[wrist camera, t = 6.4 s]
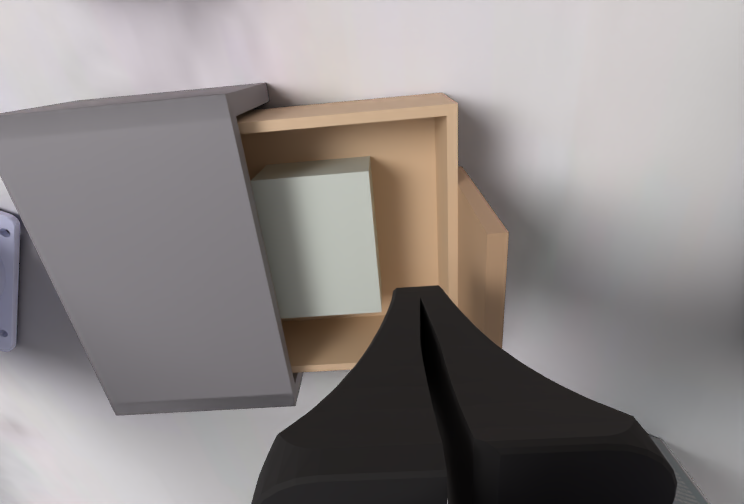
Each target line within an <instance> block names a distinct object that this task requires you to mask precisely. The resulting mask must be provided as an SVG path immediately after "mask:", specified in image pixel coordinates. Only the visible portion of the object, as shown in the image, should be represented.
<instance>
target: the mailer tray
mask: <svg viewBox="0 0 744 504" xmlns="http://www.w3.org/2000/svg"><path fill="white" fill-rule="evenodd" d="M236 118H237V123H238V127H239V132H240V136H241V141H242V146H243V150H244V155H245V159H246V164H247V168H248V173H249V177H250V182H251V186H252V191H253V196H254V200H255V205H256V209H257V214H258V218H259V223H260V227H261V232H262V237H263V241H264V246H265V250H266V255H267V259H268V264H269V268H270V273H271V277H272V282H273V287H274V291H275V296H276V300H277V305H278V309H279V314H280V318H281V323H282V328H283V332H284V337H285V341H286V346H287V350H288V355H289V359H290V364H291V369H292V373H297V372H315V371H332V370H350V369H353V367H354V366H355V365H356V364H357V362H358V361H359V360H360V358H361V357H362V355H363V354H364V353H365V351H366V350H367V348H368V347H369V345H370V343H371V342H372V340H373V338H374V336H375V335H376V333H377V331H378V330H379V328H380V326H381V324H382V321H383V319H384V317H385V315H386V313H387V310H388V308H389V305H390V302H391V299H392V294H393V291H394V290H395V289H396V288H402V287H418V286H434V285H439V286H440V287H441V288H442V289H443V290H444V292H445V293H446V294H447V295H448V297H449V298H450V299H451V300H452V301H453V303H454V304H455V305H456V306H457V307H458V308H459V310H460V311H461V312H462V313H463V314H464V315H465V316H466V317H467V318H468V319H469V320H470V321H471V322H472V323H473V324H474V325H475V326H476V327H477V328H478V329H479V330H480V331H481V332H482V333H483V334H485V335H486V336H487V337H488V338H489V339H490V340H491V341H493V342H494V343H495V344H496V345H497V346H499V347H500V348H501V349H502V340H503V322H504V305H505V288H506V270H507V253H508V236H509V232H508V231H507V229H506V228H505V226H504V225H503V224H502V222H501V221H500V219H499V218H498V217H497V215H496V214H495V212H494V211H493V210H492V208H491V207H490V205H489V204H488V203H487V201H486V200H485V198H484V197H483V196H482V194H481V193H480V191H479V190H478V188H477V187H476V186H475V184H474V183H473V181H472V180H471V179H470V177H469V176H468V174H467V173H466V172H465V170H464V169H463V167H458V103H457V102H455V101H454V100H452V99H451V98H449V97H448V96H446V95H445V94H443V93H432V94H421V95H410V96H400V97H389V98H378V99H367V100H356V101H345V102H334V103H323V104H312V105H302V106H291V107H280V108H269V109H258V110H249V111H247V112H244V113H242V114H240V115H238V116H236Z"/></svg>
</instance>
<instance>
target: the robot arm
mask: <svg viewBox="0 0 744 504" xmlns="http://www.w3.org/2000/svg"><path fill="white" fill-rule="evenodd" d="M6 229H7V230H8V231H9V232H10V234H9V233H8V232H7V231H6ZM19 252H20V222H19V220H18V219H17V218H16V217H15V216H14V215H12V214H9V213H6V212H3V211H0V351H4V352H9V351H11V350H12V349H13V348H15V347H16V336H17V308H18V280H19ZM676 489H677V480H676V476H675V473H674V470H673V468H672V467H671V465H670V464H669V462H668V461H667V460H666V458H665V457H664V455H663V454H662V453H661V451H660V450H659V448H658V447H657V445H656V444H655V443H654V441H653V440H652V439H651V437H650V436H649V435H648V434H647V433H646V431H645V430H644V429H643V428H642V427H641V425H640V424H639V423H638V422H637V421H636V419H635V418H634V417H633V416H631V415H628V414H626V413H623V412H621V411H618V410H616V409H613V408H611V407H608V406H606V405H603V404H601V403H598V402H596V401H593V400H591V399H588V398H586V397H584V396H582V395H580V394H578V393H575V392H573V391H571V390H569V389H567V388H565V387H563V386H561V385H559V384H557V383H555V382H553V381H552V380H550V379H548V378H546V377H544V376H543V375H541V374H539V373H538V372H536V371H534V370H533V369H531V368H529V367H527V366H526V365H524V364H523V363H521V362H520V361H518V360H517V359H515V358H514V357H512V356H511V355H510V354H508V353H507V352H506V351H504V350H503V349H501V348H500V347H499V346H497V345H496V344H495V343H494V342H493V341H491V340H490V339H489V338H488V337H487V336H486V335H485V334H483V333H482V332H481V331H480V330H479V329H478V328H477V327H476V326H475V325H474V324H473V323H472V322H471V321H470V320H469V319H468V318H467V317H466V316H465V315H464V314H463V313H462V312H461V311H460V310H459V308H458V307H457V306H456V305H455V304H454V303H453V301H452V300H451V299H450V298H449V297H448V295H447V294H446V293H445V292H444V290H443V289H442V288H441V287H440V286H439V285H434V286H418V287H402V288H396V289H395V290H394V291H393V294H392V299H391V302H390V305H389V308H388V310H387V313H386V315H385V317H384V319H383V321H382V324H381V326H380V328H379V330H378V331H377V333H376V335H375V336H374V338H373V340H372V342H371V343H370V345H369V347H368V348H367V350H366V351H365V353H364V354H363V355H362V357H361V358H360V360H359V361H358V362H357V364H356V365H355V366H354V367H353V369H352V370H351V371H350V372H349V373H348V375H347V376H346V377H345V378H344V379H343V380H342V381H341V383H340V384H339V385H338V386H337V387H336V388H335V389H334V390H333V391H332V392H331V393H330V394H329V395H327V396H326V397H325V398H324V399H323V400H322V401H321V402H320V403H319V404H318V405H317V406H316V407H314V408H313V409H312V410H311V411H310V412H308V413H307V414H306V415H304V416H303V417H301V418H300V419H299V420H297V421H296V422H295V423H293V424H292V425H290V426H289V427H288V428H286V429H285V430H283V431H282V432H280V433H279V434H278V435H277V437H276V439H275V441H274V443H273V445H272V447H271V449H270V451H269V453H268V456H267V458H266V460H265V463H264V465H263V467H262V470H261V472H260V475H259V478H258V481H257V485H256V488H255V492H254V496H253V500H252V503H251V504H447V499H448V504H673V502H674V499H675V496H676Z"/></svg>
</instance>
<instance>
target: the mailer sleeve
mask: <svg viewBox="0 0 744 504" xmlns="http://www.w3.org/2000/svg"><path fill="white" fill-rule="evenodd" d="M266 102H269V96H268V91H267V86H266V83H258V84H247V85H237V86H226V87H216V88H205V89H195V90H184V91H174V92H163V93H153V94H142V95H132V96H121V97H111V98H100V99H90V100H79V101H72V102H66V103H60V104H54V105H48V106H42V107H36V108H30V109H24V110H18V111H11V112H5V113H0V176H1V178H2V180H3V182H4V184H5V186H6V188H7V191H8V193H9V195H10V197H11V199H12V201H13V203H14V205H15V207H16V209H17V211H18V213H19V215H20V217H21V220H22V222H23V224H24V226H25V228H26V230H27V232H28V234H29V236H30V238H31V240H32V242H33V244H34V247H35V249H36V251H37V253H38V255H39V257H40V259H41V261H42V263H43V265H44V267H45V269H46V271H47V273H48V276H49V278H50V280H51V282H52V284H53V286H54V288H55V290H56V292H57V294H58V296H59V298H60V300H61V302H62V305H63V307H64V309H65V311H66V313H67V315H68V317H69V319H70V321H71V323H72V325H73V327H74V329H75V332H76V334H77V336H78V338H79V340H80V342H81V344H82V346H83V348H84V350H85V352H86V354H87V356H88V358H89V361H90V363H91V365H92V367H93V369H94V371H95V373H96V375H97V377H98V379H99V381H100V383H101V385H102V387H103V390H104V392H105V394H106V396H107V398H108V400H109V402H110V404H111V406H112V408H113V410H114V412H115V414H116V415H135V414H154V413H173V412H192V411H211V410H230V409H248V408H267V407H286V406H296V402H297V398H298V393H299V389H300V385H301V381H302V377H303V372H297V373H292V369H291V364H290V359H289V355H288V350H287V346H286V341H285V337H284V332H283V328H282V323H281V318H280V314H279V309H278V305H277V300H276V296H275V291H274V287H273V282H272V277H271V273H270V268H269V264H268V259H267V255H266V250H265V246H264V241H263V237H262V232H261V227H260V223H259V218H258V214H257V209H256V205H255V200H254V196H253V191H252V186H251V182H250V177H249V173H248V168H247V164H246V159H245V155H244V150H243V146H242V141H241V136H240V132H239V127H238V123H237V118H236V116H238V115H240V114H242V113H244V112H247V111H249V110H251V109H253V108H255V107H258V106H260V105H262V104H264V103H266Z"/></svg>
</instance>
